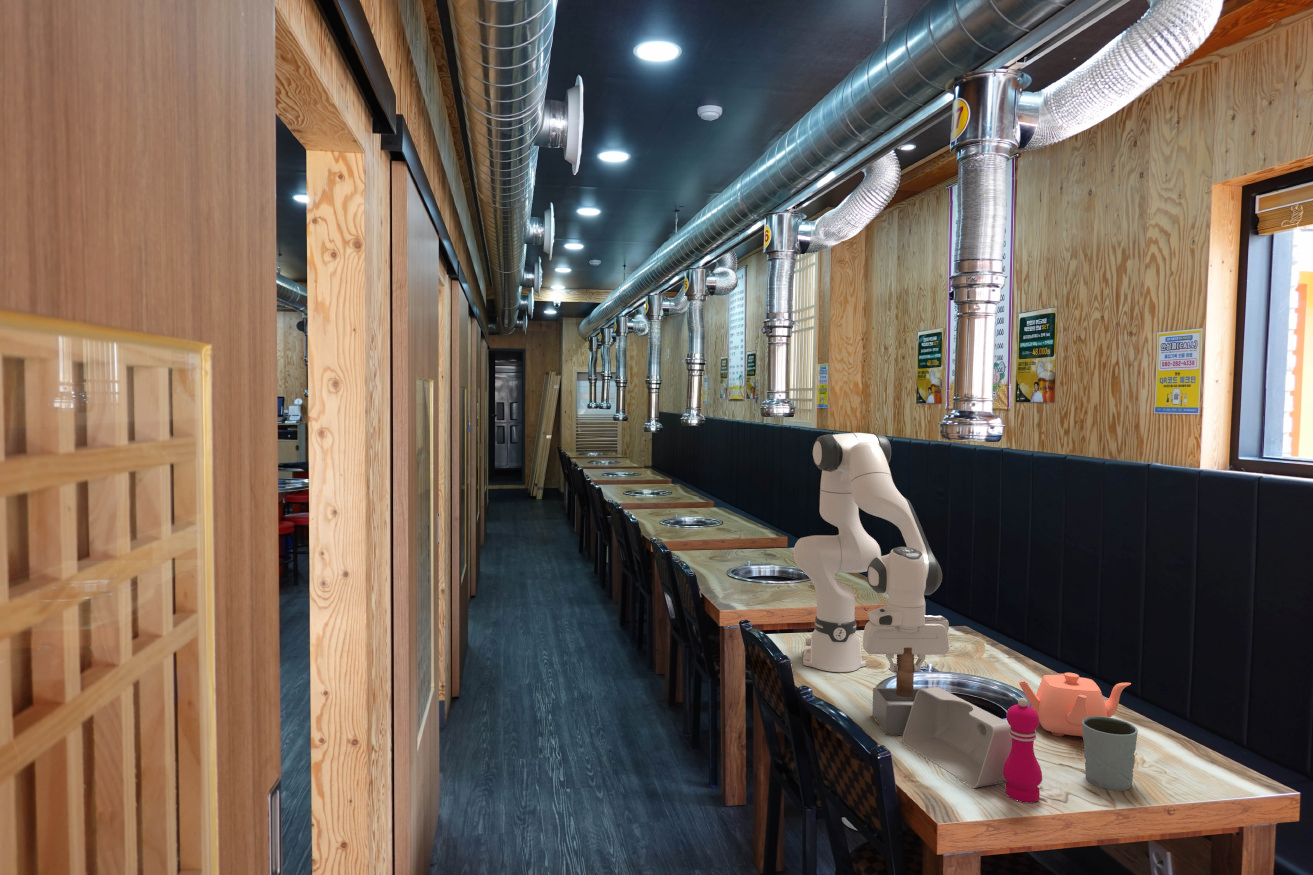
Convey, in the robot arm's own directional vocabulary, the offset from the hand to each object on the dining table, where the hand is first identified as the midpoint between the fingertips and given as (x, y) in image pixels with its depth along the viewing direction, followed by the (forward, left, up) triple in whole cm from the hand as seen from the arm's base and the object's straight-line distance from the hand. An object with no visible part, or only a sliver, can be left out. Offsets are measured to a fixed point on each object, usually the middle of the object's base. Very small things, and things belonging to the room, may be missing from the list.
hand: (905, 671), depth 200 cm
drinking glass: (+29, +34, -14) cm, 47 cm away
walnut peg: (0, 0, -6) cm, 6 cm away
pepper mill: (+36, +13, -13) cm, 40 cm away
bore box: (0, 0, -13) cm, 13 cm away
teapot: (+3, +40, -14) cm, 42 cm away
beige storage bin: (+19, +8, -14) cm, 25 cm away
